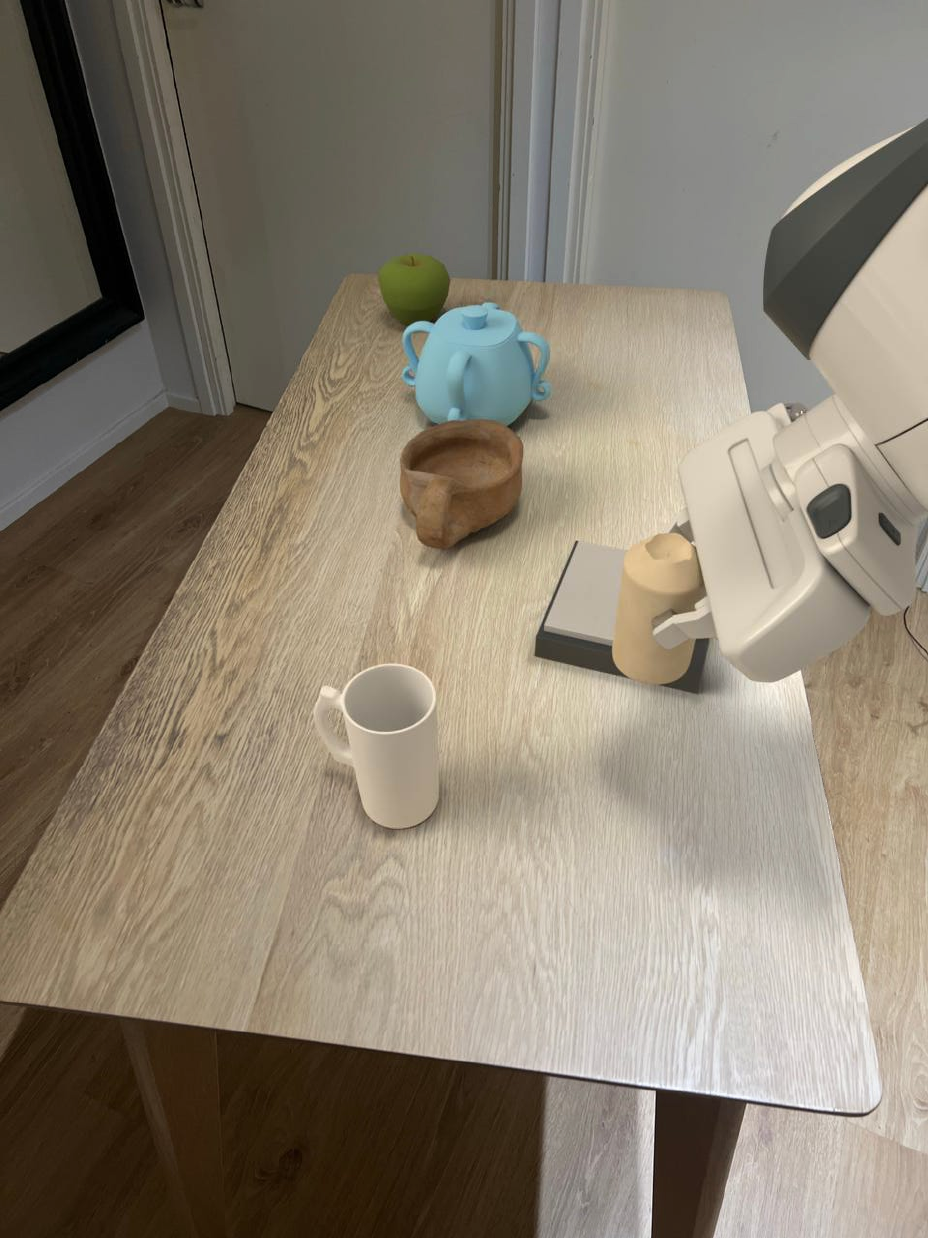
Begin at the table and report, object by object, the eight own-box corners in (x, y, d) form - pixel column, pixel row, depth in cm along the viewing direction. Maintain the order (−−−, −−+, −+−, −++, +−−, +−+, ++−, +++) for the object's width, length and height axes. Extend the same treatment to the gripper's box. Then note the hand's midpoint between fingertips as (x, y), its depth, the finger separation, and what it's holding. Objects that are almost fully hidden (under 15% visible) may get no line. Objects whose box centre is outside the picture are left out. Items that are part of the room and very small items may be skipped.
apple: (441, 340, 130) (438, 273, 123) (372, 334, 132) (366, 267, 125) (458, 309, 137) (457, 244, 130) (393, 303, 139) (388, 239, 132)
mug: (455, 776, 73) (450, 677, 64) (422, 843, 68) (413, 745, 60) (345, 743, 75) (328, 643, 67) (307, 805, 71) (283, 706, 63)
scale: (719, 588, 89) (725, 562, 87) (697, 694, 79) (703, 668, 76) (574, 558, 93) (576, 533, 91) (534, 656, 83) (535, 630, 80)
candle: (691, 689, 60) (717, 578, 54) (610, 681, 61) (625, 570, 54) (688, 633, 64) (712, 523, 58) (612, 627, 65) (626, 517, 58)
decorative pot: (560, 427, 112) (567, 324, 102) (442, 456, 107) (438, 351, 98) (506, 371, 123) (508, 273, 113) (396, 394, 118) (389, 295, 109)
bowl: (537, 564, 90) (511, 485, 83) (407, 589, 93) (373, 515, 87) (537, 464, 103) (515, 389, 96) (423, 490, 106) (394, 419, 100)
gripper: (773, 360, 58) (609, 483, 65) (862, 558, 43) (637, 689, 50) (824, 421, 61) (662, 532, 68) (924, 625, 46) (703, 741, 53)
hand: (651, 601), depth 59 cm, fingers closed on candle, 5 cm apart
